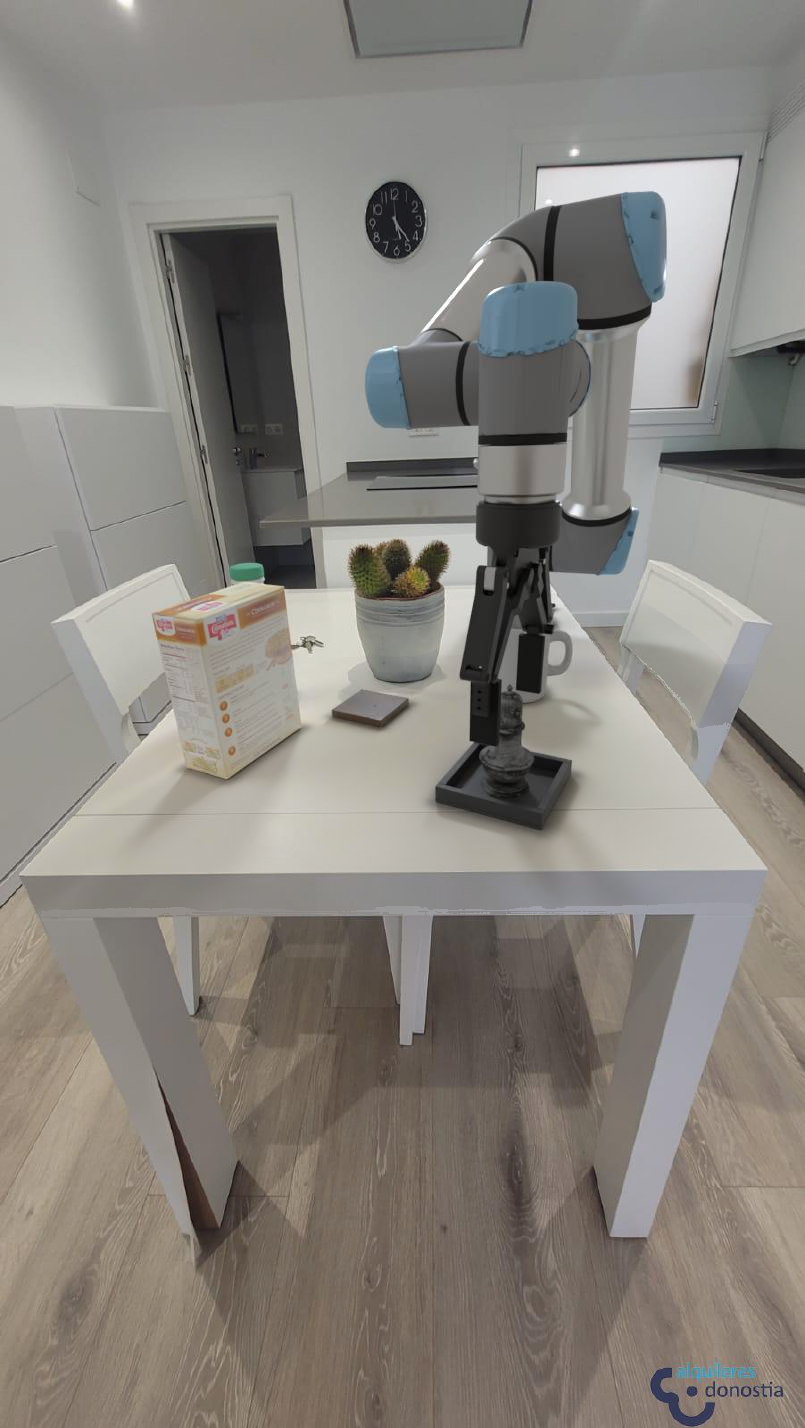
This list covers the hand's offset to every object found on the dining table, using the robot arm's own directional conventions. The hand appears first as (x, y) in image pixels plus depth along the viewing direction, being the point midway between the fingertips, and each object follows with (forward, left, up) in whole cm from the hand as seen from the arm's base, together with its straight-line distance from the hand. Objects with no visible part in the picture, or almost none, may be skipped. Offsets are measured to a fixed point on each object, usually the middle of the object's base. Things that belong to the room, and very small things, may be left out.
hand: (508, 714), depth 62 cm
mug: (-27, -6, -9) cm, 29 cm away
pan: (0, 0, -9) cm, 9 cm away
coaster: (-11, -24, -9) cm, 28 cm away
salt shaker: (0, 0, -9) cm, 9 cm away
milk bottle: (-8, -41, -9) cm, 43 cm away
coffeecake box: (+5, -33, -9) cm, 35 cm away
